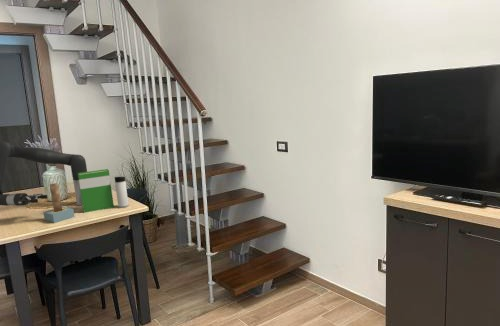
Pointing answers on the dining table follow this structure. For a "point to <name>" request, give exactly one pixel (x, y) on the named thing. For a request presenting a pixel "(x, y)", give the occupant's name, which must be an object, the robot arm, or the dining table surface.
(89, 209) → the hardback book
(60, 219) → the socket block
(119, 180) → the travel mug
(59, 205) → the peg
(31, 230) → the dining table surface
